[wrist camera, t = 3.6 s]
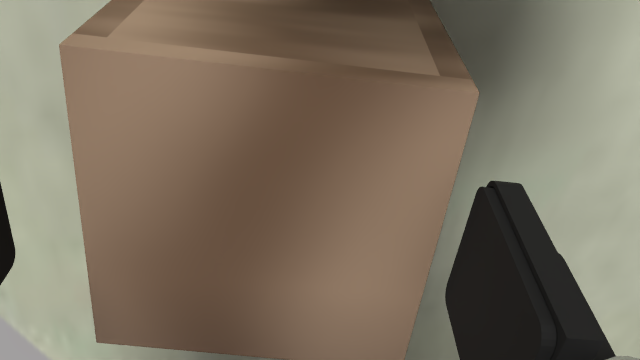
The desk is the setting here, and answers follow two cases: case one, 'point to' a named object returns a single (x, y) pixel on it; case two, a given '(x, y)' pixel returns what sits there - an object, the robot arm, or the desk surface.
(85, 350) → the desk surface
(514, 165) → the desk surface
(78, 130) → the brown open box
